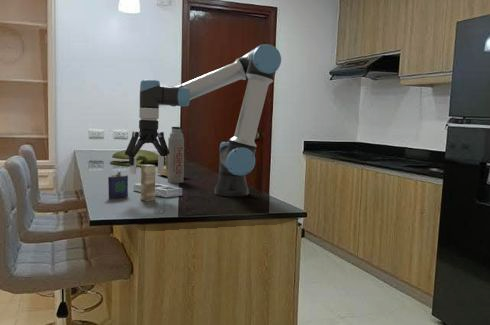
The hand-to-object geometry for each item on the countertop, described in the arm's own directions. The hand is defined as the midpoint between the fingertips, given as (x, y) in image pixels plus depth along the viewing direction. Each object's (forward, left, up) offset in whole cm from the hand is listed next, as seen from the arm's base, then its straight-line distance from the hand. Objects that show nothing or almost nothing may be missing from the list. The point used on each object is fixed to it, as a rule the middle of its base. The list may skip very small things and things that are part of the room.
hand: (147, 172), depth 185 cm
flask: (+11, +6, -11) cm, 17 cm away
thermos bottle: (+30, -41, -11) cm, 52 cm away
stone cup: (+46, -52, -11) cm, 70 cm away
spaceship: (+105, -74, -12) cm, 129 cm away
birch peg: (0, 0, -11) cm, 11 cm away
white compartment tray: (+10, -13, -11) cm, 20 cm away
